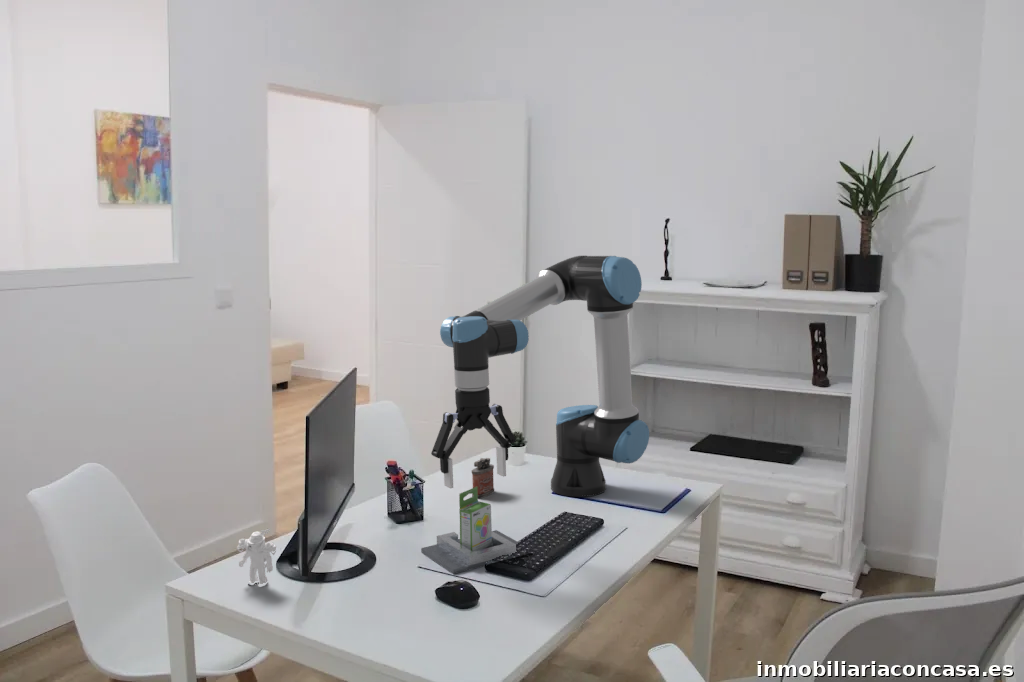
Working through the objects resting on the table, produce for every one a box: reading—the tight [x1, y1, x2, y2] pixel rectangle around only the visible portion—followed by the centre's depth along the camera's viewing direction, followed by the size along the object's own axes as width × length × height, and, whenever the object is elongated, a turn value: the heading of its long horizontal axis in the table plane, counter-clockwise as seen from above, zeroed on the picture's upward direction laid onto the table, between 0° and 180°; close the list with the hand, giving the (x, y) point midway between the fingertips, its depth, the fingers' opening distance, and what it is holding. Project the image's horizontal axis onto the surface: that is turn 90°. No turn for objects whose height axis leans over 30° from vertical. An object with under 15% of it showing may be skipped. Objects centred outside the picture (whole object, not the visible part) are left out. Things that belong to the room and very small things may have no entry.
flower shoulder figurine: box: [236, 528, 277, 584], centre depth 184 cm, size 9×4×12 cm, turn 69°
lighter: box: [471, 457, 495, 500], centre depth 241 cm, size 8×3×10 cm, turn 144°
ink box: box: [458, 487, 493, 551], centre depth 199 cm, size 7×4×13 cm, turn 144°
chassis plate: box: [420, 529, 520, 575], centre depth 200 cm, size 20×15×3 cm
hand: (475, 480), depth 198 cm, fingers open, 13 cm apart
